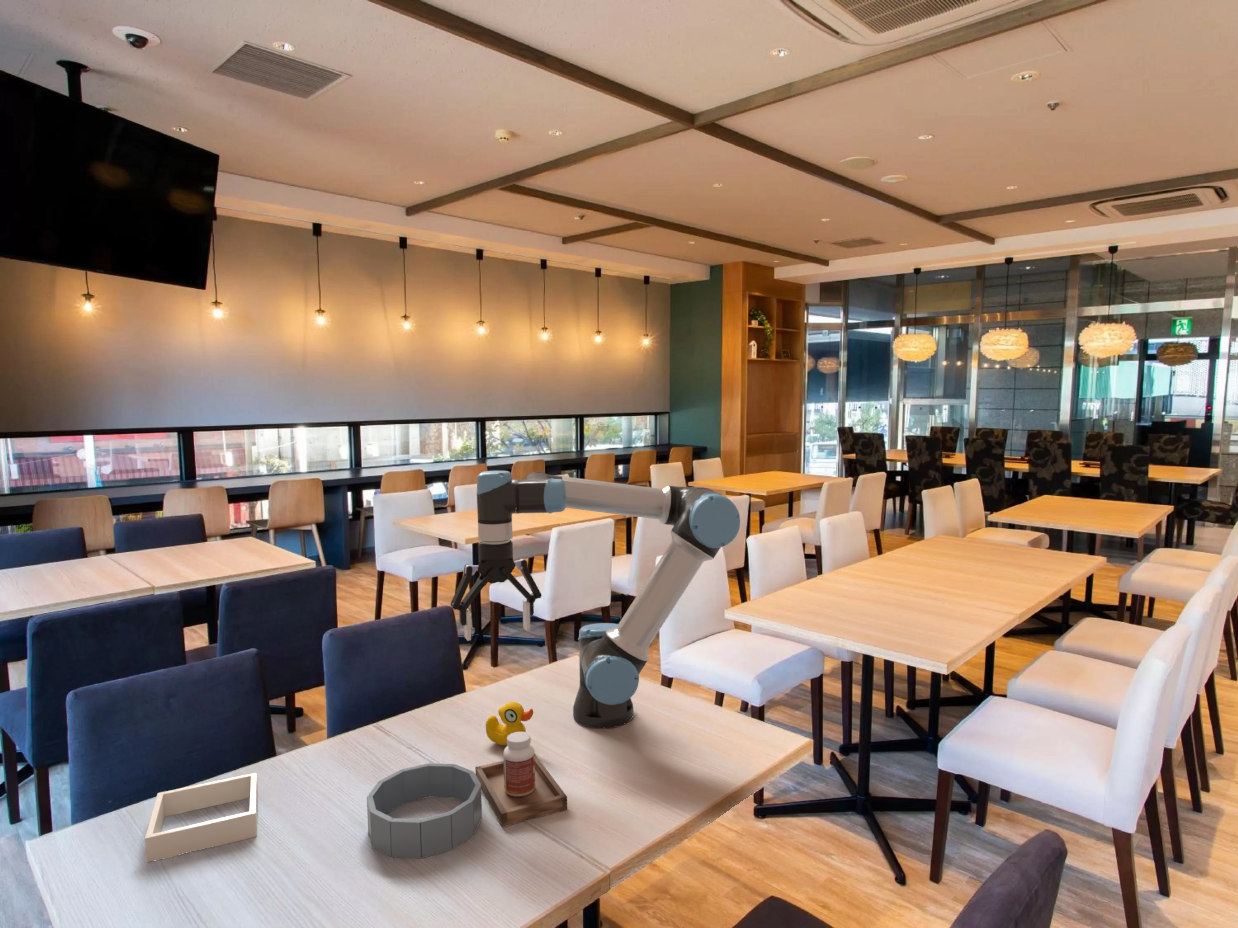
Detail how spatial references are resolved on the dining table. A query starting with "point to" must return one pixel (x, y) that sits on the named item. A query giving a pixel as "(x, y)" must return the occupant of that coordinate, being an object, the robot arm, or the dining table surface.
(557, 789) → the tray
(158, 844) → the open rectangular frame
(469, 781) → the grey ringed piece
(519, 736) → the pill bottle
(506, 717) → the duckling
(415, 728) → the dining table surface
